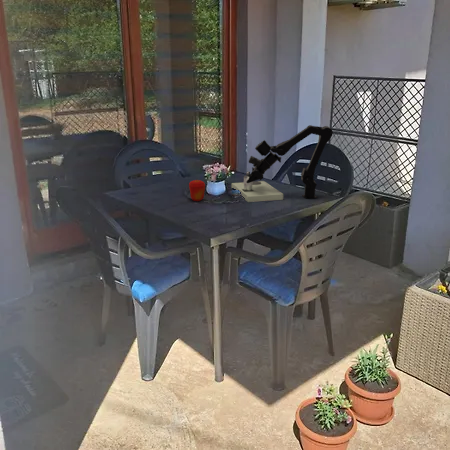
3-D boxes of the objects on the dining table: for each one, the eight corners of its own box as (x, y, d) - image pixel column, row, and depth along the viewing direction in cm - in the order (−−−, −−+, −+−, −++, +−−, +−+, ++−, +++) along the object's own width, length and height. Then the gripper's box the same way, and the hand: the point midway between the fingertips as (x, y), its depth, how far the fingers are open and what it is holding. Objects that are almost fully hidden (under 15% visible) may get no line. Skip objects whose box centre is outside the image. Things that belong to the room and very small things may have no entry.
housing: (283, 199, 266) (283, 193, 265) (248, 202, 260) (248, 196, 259) (263, 186, 293) (263, 180, 292) (231, 188, 288) (231, 182, 287)
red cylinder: (208, 199, 264) (208, 178, 260) (197, 203, 258) (196, 181, 254) (197, 196, 270) (197, 175, 266) (185, 199, 264) (185, 178, 260)
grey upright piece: (253, 194, 271) (254, 172, 267) (245, 194, 269) (245, 173, 265) (250, 191, 275) (251, 170, 271) (242, 192, 274) (242, 171, 270)
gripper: (257, 148, 273) (237, 167, 277) (257, 154, 256) (236, 175, 260) (271, 162, 275) (251, 181, 280) (272, 169, 258) (250, 189, 262)
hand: (247, 181), depth 270 cm, fingers closed on grey upright piece, 5 cm apart
